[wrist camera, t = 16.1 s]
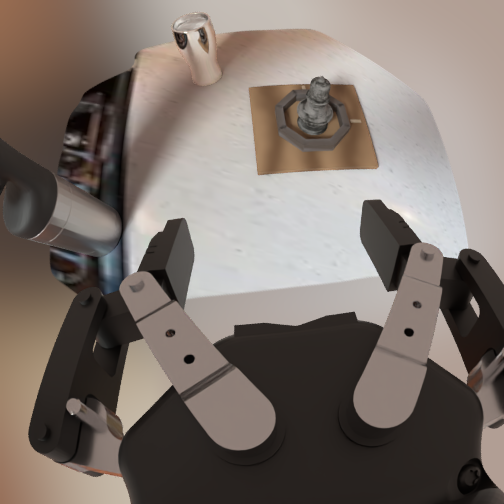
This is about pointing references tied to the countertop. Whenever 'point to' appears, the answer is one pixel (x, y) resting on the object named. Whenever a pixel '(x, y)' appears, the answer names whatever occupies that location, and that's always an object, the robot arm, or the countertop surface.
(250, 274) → the countertop surface
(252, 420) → the robot arm
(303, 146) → the socket plate
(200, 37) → the beer glass
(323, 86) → the grey turned stone piece
